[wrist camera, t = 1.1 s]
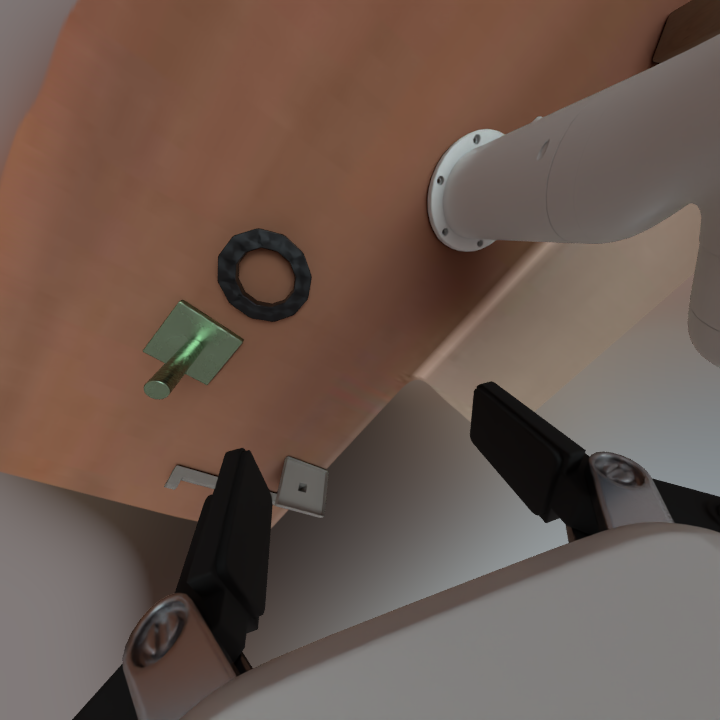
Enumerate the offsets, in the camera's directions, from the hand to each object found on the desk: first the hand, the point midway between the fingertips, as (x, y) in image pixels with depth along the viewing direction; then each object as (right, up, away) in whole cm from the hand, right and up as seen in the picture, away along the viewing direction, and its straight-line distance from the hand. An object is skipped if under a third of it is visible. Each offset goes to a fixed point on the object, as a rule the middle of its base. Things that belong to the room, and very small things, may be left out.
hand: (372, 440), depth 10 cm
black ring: (-12, +13, +21) cm, 27 cm away
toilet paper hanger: (-18, -16, +34) cm, 41 cm away
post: (-21, +5, +22) cm, 31 cm away
